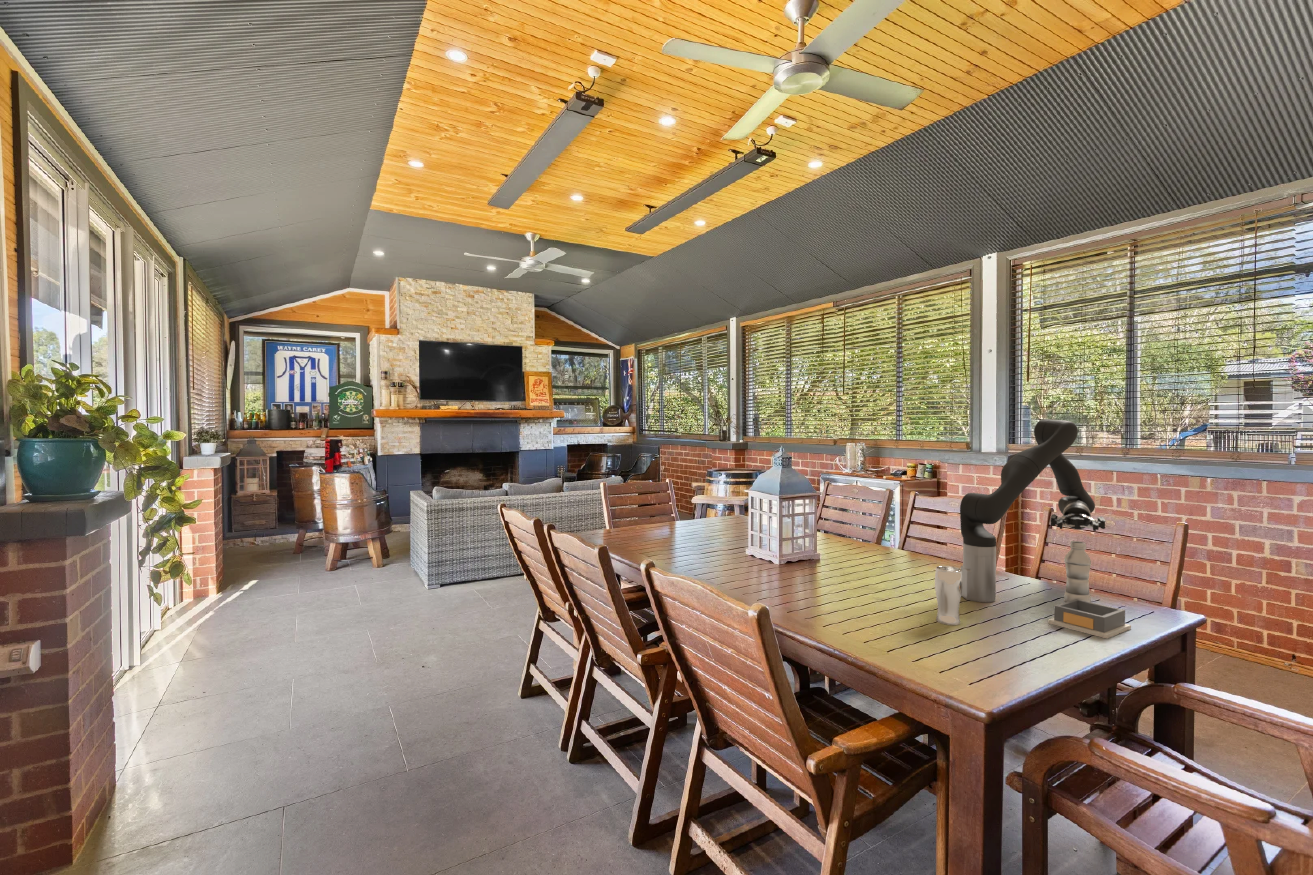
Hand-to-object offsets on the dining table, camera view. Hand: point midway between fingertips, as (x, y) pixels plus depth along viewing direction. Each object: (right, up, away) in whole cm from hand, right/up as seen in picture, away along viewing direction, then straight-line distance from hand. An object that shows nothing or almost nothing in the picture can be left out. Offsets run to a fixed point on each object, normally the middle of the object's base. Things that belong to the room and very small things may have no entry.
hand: (1077, 526), depth 186 cm
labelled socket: (-12, -24, -22) cm, 35 cm away
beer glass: (-49, -24, -19) cm, 58 cm away
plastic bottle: (-5, -24, -7) cm, 25 cm away
